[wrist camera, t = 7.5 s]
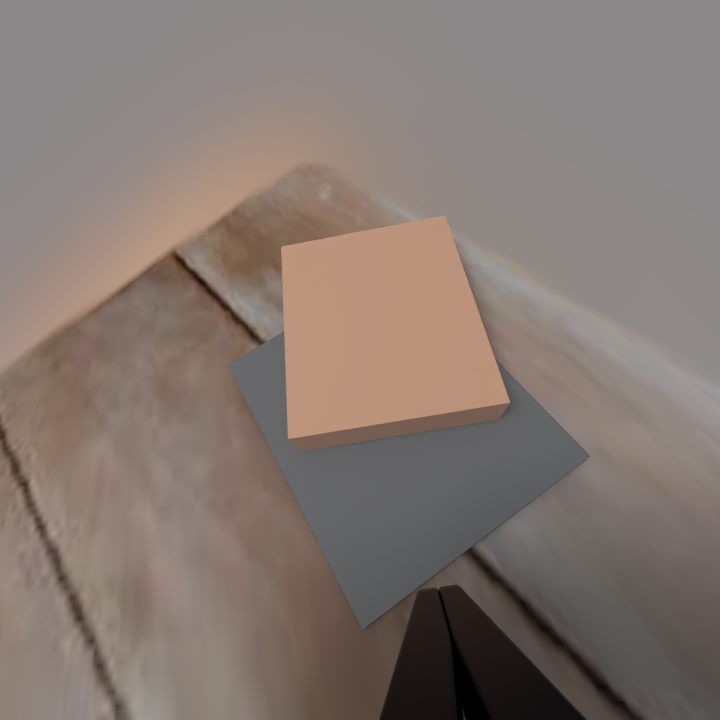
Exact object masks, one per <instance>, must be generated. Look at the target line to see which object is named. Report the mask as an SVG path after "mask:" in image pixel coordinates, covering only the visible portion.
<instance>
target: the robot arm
mask: <svg viewBox="0 0 720 720" xmlns="http://www.w3.org/2000/svg"><path fill="white" fill-rule="evenodd" d="M462 709H463V710H462ZM463 713H464V717H465V720H587V719H586V718H585V717H584V716H583V715H582V714H581V713H580V712H579V711H578V710H577V709H576V708H575V707H574V706H573V705H572V704H571V703H570V702H569V700H568V699H567V698H566V697H565V696H564V695H563V694H562V693H561V692H560V691H559V690H558V689H557V688H556V687H555V686H554V685H553V684H552V683H551V682H550V681H549V680H548V678H547V677H546V676H545V675H544V674H543V673H542V672H541V671H540V670H539V669H538V668H537V667H536V666H535V665H534V664H533V663H532V662H531V661H530V660H529V659H528V657H527V656H526V655H525V654H524V653H523V652H522V651H521V650H520V649H519V648H518V647H517V646H516V645H515V644H514V643H513V642H512V641H511V640H510V639H509V638H508V637H507V635H506V634H505V633H504V632H503V631H502V630H501V629H500V628H499V627H498V626H497V625H496V624H495V623H494V622H493V621H492V620H491V619H490V618H489V617H488V616H487V614H486V613H485V612H484V611H483V610H482V609H481V608H480V607H479V606H478V605H477V604H476V603H475V602H474V601H473V600H472V599H471V598H470V597H469V596H468V595H467V594H466V592H465V591H464V590H463V589H462V588H461V587H460V586H458V585H451V586H444V587H440V588H439V591H438V589H436V588H430V589H423V590H419V591H418V593H417V595H416V599H415V602H414V605H413V609H412V612H411V615H410V619H409V622H408V625H407V629H406V632H405V635H404V639H403V642H402V645H401V649H400V652H399V655H398V659H397V662H396V665H395V669H394V672H393V675H392V679H391V682H390V686H389V689H388V692H387V696H386V699H385V702H384V706H383V709H382V712H381V716H380V719H379V720H464V717H463Z"/></svg>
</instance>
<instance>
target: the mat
mask: <svg viewBox="0 0 720 720" xmlns="http://www.w3.org/2000/svg"><path fill="white" fill-rule="evenodd" d="M495 360H496V359H495ZM496 363H497V366H498V369H499V372H500V374H501V377H502V380H503V383H504V386H505V389H506V392H507V395H508V397H509V400H510V404H509V405H508V407H507V408H506V410H505V411H504V413H503V414H502V416H501V417H500V419H499V420H495V421H488V422H482V423H476V424H470V425H464V426H458V427H451V428H445V429H439V430H433V431H427V432H420V433H414V434H408V435H402V436H396V437H390V438H383V439H377V440H371V441H365V442H359V443H353V444H346V445H340V446H334V447H328V448H322V449H316V450H309V451H303V452H302V451H301V450H300V449H298V448H297V447H296V446H295V445H294V444H293V443H292V442H291V441H290V440H288V426H287V397H286V368H285V339H284V332H283V333H281V334H279V335H278V336H276V337H274V338H272V339H271V340H269V341H267V342H266V343H264V344H262V345H261V346H259V347H257V348H255V349H254V350H252V351H250V352H249V353H247V354H245V355H243V356H242V357H240V358H238V359H237V360H235V361H233V362H232V363H230V364H228V366H229V368H230V370H231V372H232V374H233V376H234V378H235V380H236V382H237V384H238V386H239V388H240V390H241V392H242V394H243V396H244V398H245V400H246V402H247V404H248V406H249V408H250V410H251V412H252V414H253V416H254V418H255V420H256V422H257V424H258V425H259V427H260V429H261V431H262V433H263V435H264V437H265V439H266V441H267V443H268V445H269V447H270V449H271V451H272V453H273V455H274V457H275V459H276V461H277V463H278V465H279V467H280V469H281V471H282V473H283V475H284V477H285V479H286V481H287V483H288V485H289V487H290V488H291V490H292V492H293V494H294V496H295V498H296V500H297V502H298V504H299V506H300V508H301V510H302V512H303V514H304V516H305V518H306V520H307V522H308V524H309V526H310V528H311V530H312V532H313V534H314V536H315V538H316V540H317V542H318V544H319V546H320V548H321V549H322V551H323V553H324V555H325V557H326V559H327V561H328V563H329V565H330V567H331V569H332V571H333V573H334V575H335V577H336V579H337V581H338V583H339V585H340V587H341V589H342V591H343V593H344V595H345V597H346V599H347V601H348V603H349V605H350V607H351V609H352V610H353V612H354V614H355V616H356V618H357V620H358V622H359V624H360V626H361V628H362V630H363V629H364V628H366V627H367V626H368V625H370V624H371V623H372V622H373V621H375V620H376V619H377V618H379V617H380V616H381V615H383V614H384V613H385V612H387V611H388V610H389V609H391V608H392V607H393V606H394V605H396V604H397V603H398V602H400V601H401V600H402V599H404V598H405V597H406V596H408V595H409V594H410V593H411V592H413V591H414V590H415V589H417V588H418V587H419V586H421V585H422V584H423V583H425V582H426V581H427V580H429V579H430V578H431V577H432V576H434V575H435V574H436V573H438V572H439V571H440V570H442V569H443V568H444V567H446V566H447V565H448V564H450V563H451V562H452V561H453V560H455V559H456V558H457V557H459V556H460V555H461V554H463V553H464V552H465V551H467V550H468V549H469V548H470V547H472V546H473V545H474V544H476V543H477V542H478V541H480V540H481V539H482V538H484V537H485V536H486V535H488V534H489V533H490V532H491V531H493V530H494V529H495V528H497V527H498V526H499V525H501V524H502V523H503V522H505V521H506V520H507V519H509V518H510V517H511V516H512V515H514V514H515V513H516V512H518V511H519V510H520V509H522V508H523V507H524V506H526V505H527V504H528V503H529V502H531V501H532V500H533V499H535V498H536V497H537V496H539V495H540V494H541V493H543V492H544V491H545V490H547V489H548V488H549V487H550V486H552V485H553V484H554V483H556V482H557V481H558V480H560V479H561V478H562V477H564V476H565V475H566V474H568V473H569V472H570V471H571V470H573V469H574V468H575V467H577V466H578V465H579V464H581V463H582V462H583V461H585V460H586V459H587V458H588V457H590V456H589V455H588V454H587V453H586V452H585V451H584V450H583V449H582V448H581V447H580V446H579V445H578V444H577V442H576V441H575V440H574V439H573V438H572V437H571V436H570V435H569V434H568V433H567V432H566V431H565V430H564V429H563V428H562V427H561V426H560V425H559V424H558V423H557V422H556V421H555V420H554V419H553V418H552V417H551V416H550V415H549V414H548V413H547V412H546V411H545V410H544V409H543V408H542V407H541V406H540V405H539V404H538V402H537V401H536V400H535V399H534V398H533V397H532V396H531V395H530V394H529V393H528V392H527V391H526V390H525V389H524V388H523V387H522V386H521V385H520V384H519V383H518V382H517V381H516V380H515V379H514V378H513V377H512V376H511V375H510V374H509V373H508V372H507V371H506V370H505V369H504V368H503V367H502V366H501V365H500V363H499V362H498V361H497V360H496Z"/></svg>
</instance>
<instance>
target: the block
mask: <svg viewBox="0 0 720 720" xmlns="http://www.w3.org/2000/svg"><path fill="white" fill-rule="evenodd" d="M281 253H282V282H283V310H284V339H285V368H286V397H287V426H288V440H290V441H291V442H292V443H293V444H294V445H295V446H296V447H297V448H298V449H300V450H301V451H302V452H303V451H309V450H316V449H322V448H328V447H334V446H340V445H346V444H353V443H359V442H365V441H371V440H377V439H383V438H390V437H396V436H402V435H408V434H414V433H420V432H427V431H433V430H439V429H445V428H451V427H458V426H464V425H470V424H476V423H482V422H488V421H495V420H499V419H500V417H501V416H502V414H503V413H504V411H505V410H506V408H507V407H508V405H509V404H510V400H509V397H508V395H507V392H506V389H505V386H504V383H503V380H502V377H501V374H500V372H499V369H498V366H497V363H496V360H495V357H494V354H493V351H492V349H491V346H490V343H489V340H488V337H487V334H486V331H485V329H484V326H483V323H482V320H481V317H480V314H479V311H478V308H477V306H476V303H475V300H474V297H473V294H472V291H471V288H470V285H469V283H468V280H467V277H466V274H465V271H464V268H463V265H462V263H461V260H460V257H459V254H458V251H457V248H456V245H455V242H454V240H453V237H452V234H451V231H450V228H449V225H448V223H447V220H446V217H445V216H439V217H434V218H429V219H424V220H418V221H413V222H408V223H403V224H397V225H392V226H387V227H382V228H377V229H371V230H366V231H361V232H356V233H350V234H345V235H340V236H335V237H329V238H324V239H319V240H314V241H308V242H303V243H298V244H293V245H288V246H282V247H281Z"/></svg>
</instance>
